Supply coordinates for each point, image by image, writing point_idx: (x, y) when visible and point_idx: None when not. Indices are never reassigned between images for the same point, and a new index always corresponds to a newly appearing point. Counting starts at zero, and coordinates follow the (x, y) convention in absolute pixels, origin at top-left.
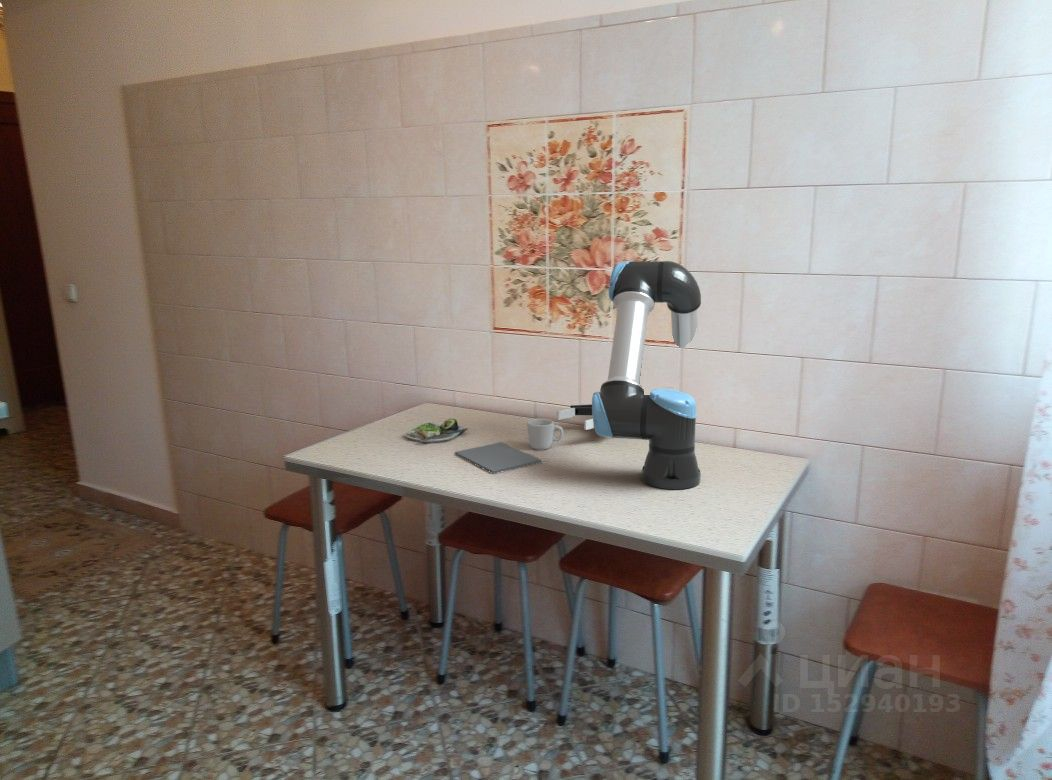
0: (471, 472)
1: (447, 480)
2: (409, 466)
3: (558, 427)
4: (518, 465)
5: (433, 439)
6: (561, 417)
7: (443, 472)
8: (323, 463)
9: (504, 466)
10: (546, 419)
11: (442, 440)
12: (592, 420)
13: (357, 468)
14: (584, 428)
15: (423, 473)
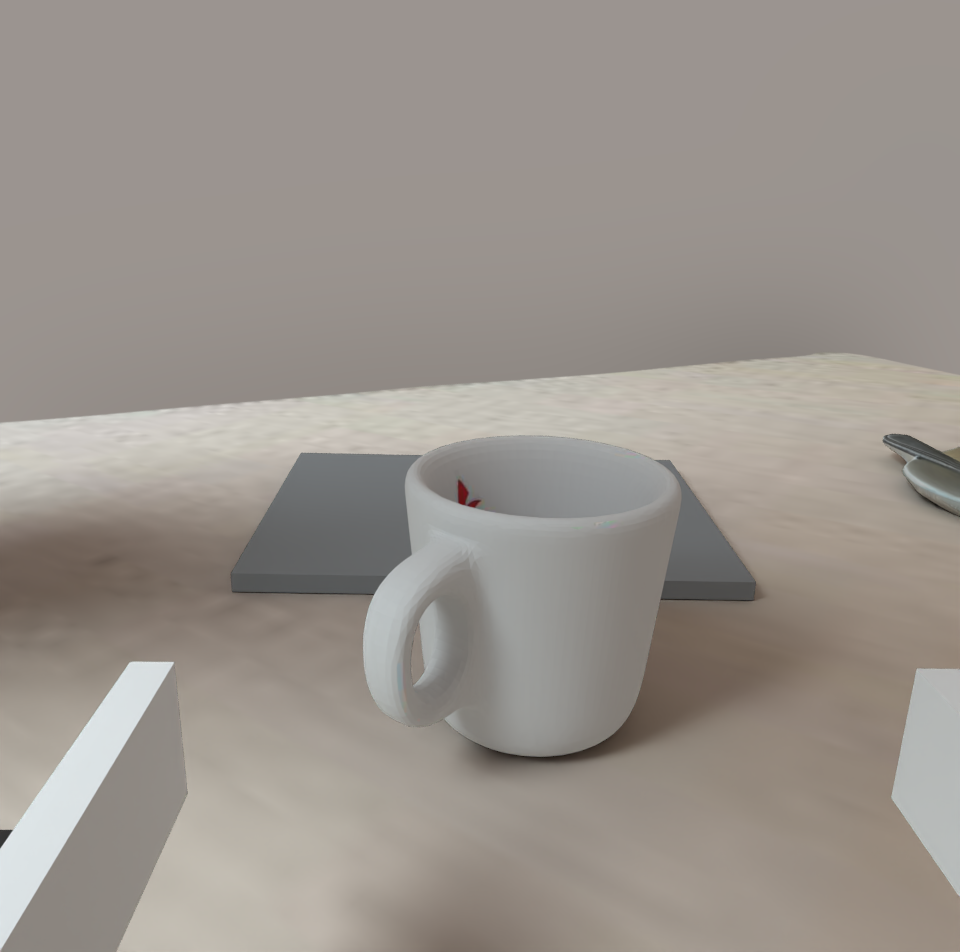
0: (390, 448)
1: (376, 413)
2: (602, 406)
3: (393, 569)
4: (271, 506)
5: (913, 460)
6: (927, 813)
7: (465, 423)
8: (756, 361)
9: (313, 480)
10: (606, 517)
11: (909, 481)
12: (73, 763)
13: (664, 373)
14: (184, 780)
15: (500, 406)
